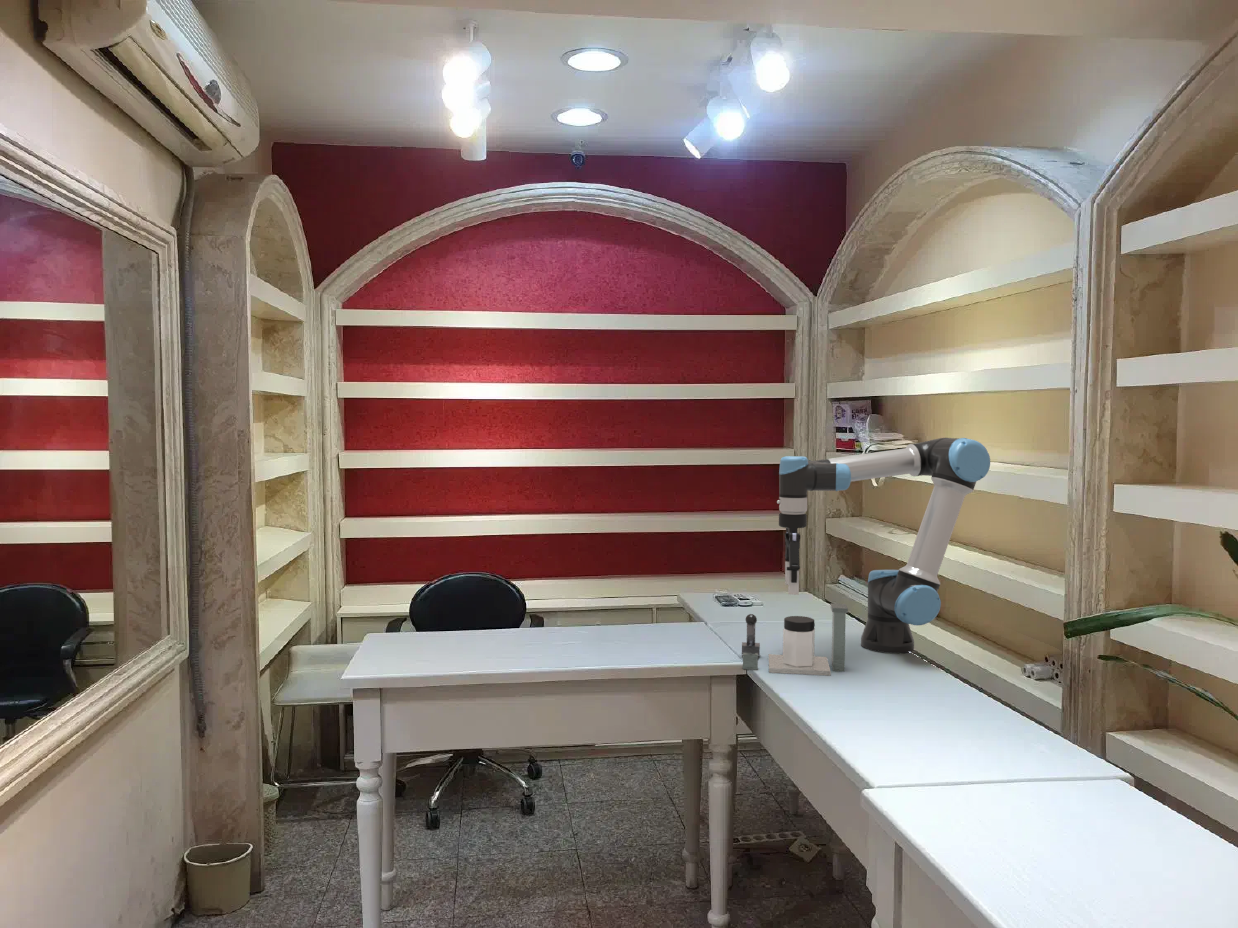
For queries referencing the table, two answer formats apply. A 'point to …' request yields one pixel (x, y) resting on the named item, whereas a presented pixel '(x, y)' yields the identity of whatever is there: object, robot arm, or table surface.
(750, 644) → the lever
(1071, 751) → the table surface
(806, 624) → the jar
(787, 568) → the robot arm
